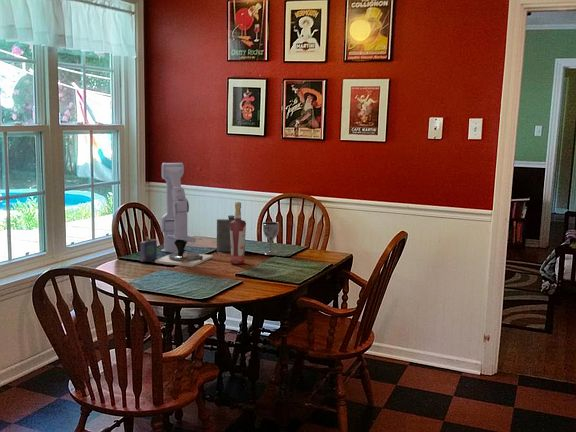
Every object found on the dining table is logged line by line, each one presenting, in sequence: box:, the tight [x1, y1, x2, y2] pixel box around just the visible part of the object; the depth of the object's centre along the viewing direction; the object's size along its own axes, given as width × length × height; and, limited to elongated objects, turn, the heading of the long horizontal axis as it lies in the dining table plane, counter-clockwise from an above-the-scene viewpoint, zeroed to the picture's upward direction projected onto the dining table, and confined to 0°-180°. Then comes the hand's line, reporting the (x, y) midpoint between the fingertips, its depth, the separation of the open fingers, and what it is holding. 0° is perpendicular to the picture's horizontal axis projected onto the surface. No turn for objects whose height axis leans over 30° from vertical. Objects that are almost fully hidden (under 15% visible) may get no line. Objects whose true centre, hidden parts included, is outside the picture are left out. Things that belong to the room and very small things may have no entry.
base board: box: [154, 251, 214, 268], centre depth 281 cm, size 20×19×3 cm
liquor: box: [229, 201, 247, 266], centre depth 275 cm, size 7×7×28 cm
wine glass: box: [262, 221, 280, 256], centre depth 298 cm, size 8×8×15 cm
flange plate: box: [168, 250, 200, 262], centre depth 280 cm, size 16×14×4 cm
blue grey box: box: [139, 236, 158, 263], centre depth 279 cm, size 9×3×11 cm, turn 146°
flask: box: [216, 214, 246, 254], centre depth 299 cm, size 4×14×18 cm, turn 79°
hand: (181, 256), depth 276 cm, fingers closed, pressing on flange plate
